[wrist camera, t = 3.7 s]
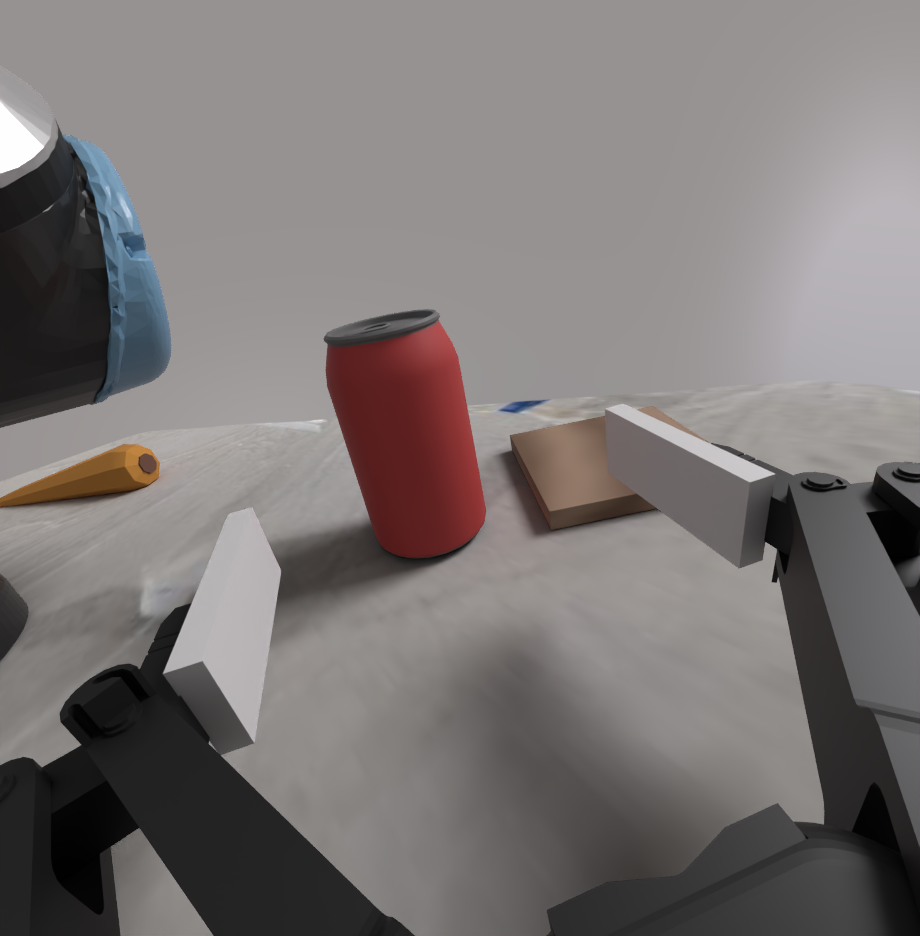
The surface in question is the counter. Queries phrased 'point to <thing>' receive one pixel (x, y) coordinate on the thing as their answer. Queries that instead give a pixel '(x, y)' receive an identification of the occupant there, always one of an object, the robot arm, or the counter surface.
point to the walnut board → (578, 471)
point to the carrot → (92, 477)
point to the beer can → (407, 431)
